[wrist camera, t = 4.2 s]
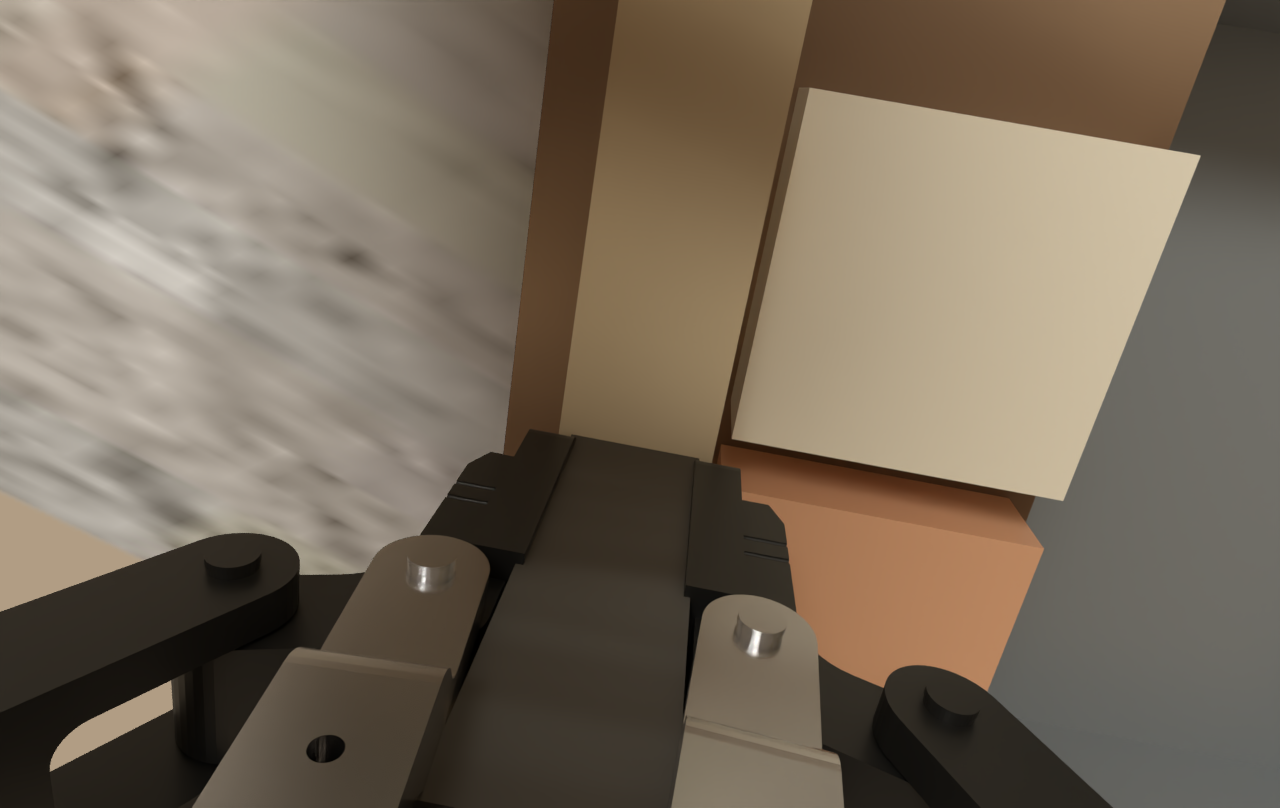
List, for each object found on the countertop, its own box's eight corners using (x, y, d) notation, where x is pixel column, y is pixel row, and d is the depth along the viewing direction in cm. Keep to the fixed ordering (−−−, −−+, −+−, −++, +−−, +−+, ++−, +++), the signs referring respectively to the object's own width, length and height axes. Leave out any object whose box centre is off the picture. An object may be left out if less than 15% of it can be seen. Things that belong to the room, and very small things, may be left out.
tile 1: (720, 443, 17) (720, 487, 15) (1009, 497, 17) (1043, 548, 15) (670, 674, 19) (665, 736, 17) (924, 724, 19) (946, 792, 17)
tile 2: (799, 87, 15) (809, 88, 13) (1139, 146, 14) (1201, 156, 13) (731, 400, 17) (731, 438, 15) (1025, 454, 17) (1063, 501, 15)
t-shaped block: (641, -15, 13) (456, -243, 4) (796, 12, 13) (969, -156, 4) (532, 735, 18) (351, 1347, 9) (638, 756, 18) (558, 1393, 9)
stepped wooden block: (606, -66, 18) (566, -118, 14) (1098, 18, 18) (1228, -6, 13) (520, 602, 25) (473, 719, 20) (879, 672, 25) (916, 808, 20)
